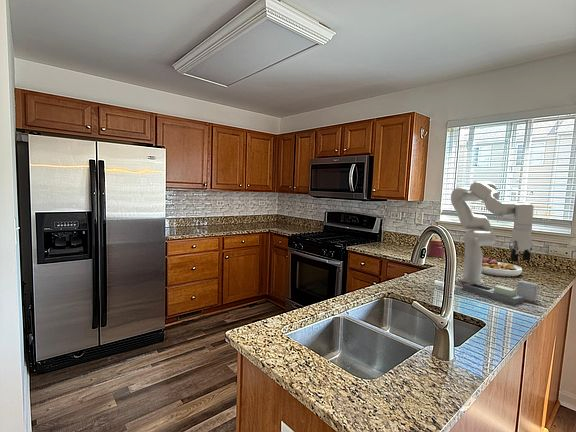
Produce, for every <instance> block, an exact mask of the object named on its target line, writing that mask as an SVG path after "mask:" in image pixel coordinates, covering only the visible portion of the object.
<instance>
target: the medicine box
mask: <svg viewBox="0 0 576 432" xmlns="http://www.w3.org/2000/svg"><path fill="white" fill-rule="evenodd" d="M516 287H517V288H516V294H518V295H522V296H525V300H526V301H529V302H537V298H538V287H539V284H538V283H535V282H530V281H524V280H519V281H518V282H517V286H516ZM525 300H524V301H525Z"/></svg>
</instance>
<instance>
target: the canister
mask: <svg viewBox="0 0 576 432" xmlns="http://www.w3.org/2000/svg"><path fill="white" fill-rule="evenodd" d="M440 239H441V238H440ZM440 239H439V236H438V235H436V236H435V237H432V240H431V241H430V240H429V241H430V243H428V245H429V246H428V245H427V256H428V257H430V256H433V257H432V258H437V257H442V258H444V257H445V248H444V249H443V245H442V242H441V240H440Z"/></svg>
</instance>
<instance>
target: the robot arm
mask: <svg viewBox="0 0 576 432" xmlns="http://www.w3.org/2000/svg"><path fill="white" fill-rule="evenodd" d="M499 197H500V193H499V192H498V191H497V186H496V184H495V183H494V182H491V181H475V182H472V183H471V184H470V185H469V187H465V186H464V187H462V186H461V187H457V188H454V189H453V190H452V192H451V196H450V202H451V204H452V207H453V208H454V210H455V211H456V213H457V217H458V220H459V223H460V225H461V227H462V228H463V229H464V230H467V231H466V232H465V233H464V235H463V243H464V255H463V256H464V257H463V259H464V260H463V271H462V276H461V277H459V280H460V281H461V282H463V283H465V284H468V283H477V284H480V285H483V284H484V280H483V279H482V278H484V277H485V275H484V273H481V271H482V259H483V258H484V257H483V253H484V252H483V250H482V248H481V247H490V246H493V245H494V244H495V242H496V234H495V232H494V230H493V228H492V226H491V223H490V220H489V219H488V217H487V216H485V215H482V214H476V213H474V212H473V209H472V207H471V206H470V205H469V204H468V202H476V201H482V202H483V203H484V206H485V208H486V210H487V211H489V212H490V213H491V214H493V215H495V216H497V217H501V218H513V229H512V232H511V236H510V242H509V243H510V244H509V251H510V261H511V262H514V263H518V262H519V254H518V253H519V252H520V251H523V253H522V260H523V261H527V262H530V260H531V254H532V250H533V246H534V244H533V243H532V242H533V241H532V239H533V237H532V231H533V218H534V217H533V216H534V205H533V204H532V203H518V202H501V201H500V200H499Z"/></svg>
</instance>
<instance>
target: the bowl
mask: <svg viewBox="0 0 576 432" xmlns="http://www.w3.org/2000/svg"><path fill="white" fill-rule="evenodd" d="M521 273H523V268H522V267H520V266H518V265H515V264H512V263H507V262H506V263H505V262H502V261H501V262H500V261H497V259H494V258H493V259H491V260H490V258H488V257H483V258H482V271H481V274H485V275H490V276H496V277H506V276H507V277H509V278H510V277H511V276H512V277H517V276H519V275H521Z"/></svg>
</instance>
